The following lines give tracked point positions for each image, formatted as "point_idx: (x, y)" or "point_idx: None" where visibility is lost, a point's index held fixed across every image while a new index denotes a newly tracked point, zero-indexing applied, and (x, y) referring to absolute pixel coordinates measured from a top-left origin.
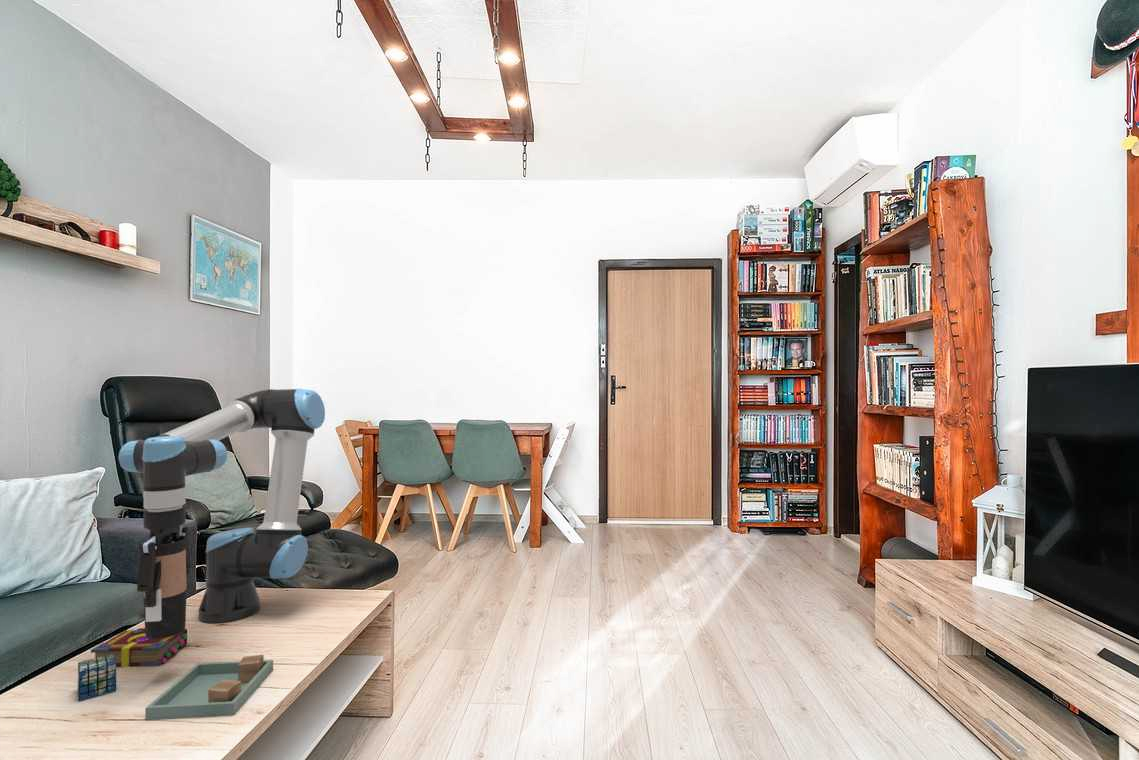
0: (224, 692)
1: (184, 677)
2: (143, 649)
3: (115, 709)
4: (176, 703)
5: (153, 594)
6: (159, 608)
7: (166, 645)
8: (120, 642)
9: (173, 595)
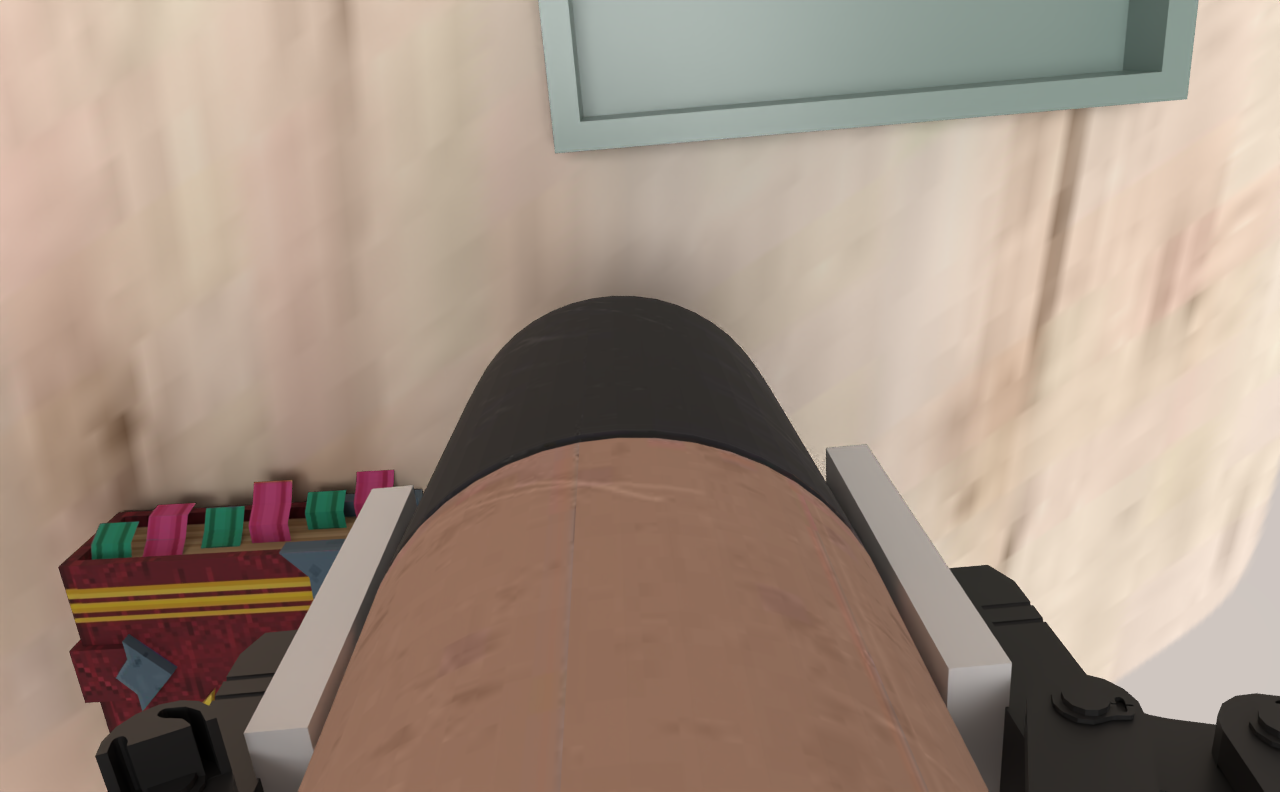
0: None
1: (778, 107)
2: None
3: (933, 383)
4: (972, 20)
5: (1053, 672)
6: (908, 510)
7: (321, 541)
8: None
9: (791, 483)
